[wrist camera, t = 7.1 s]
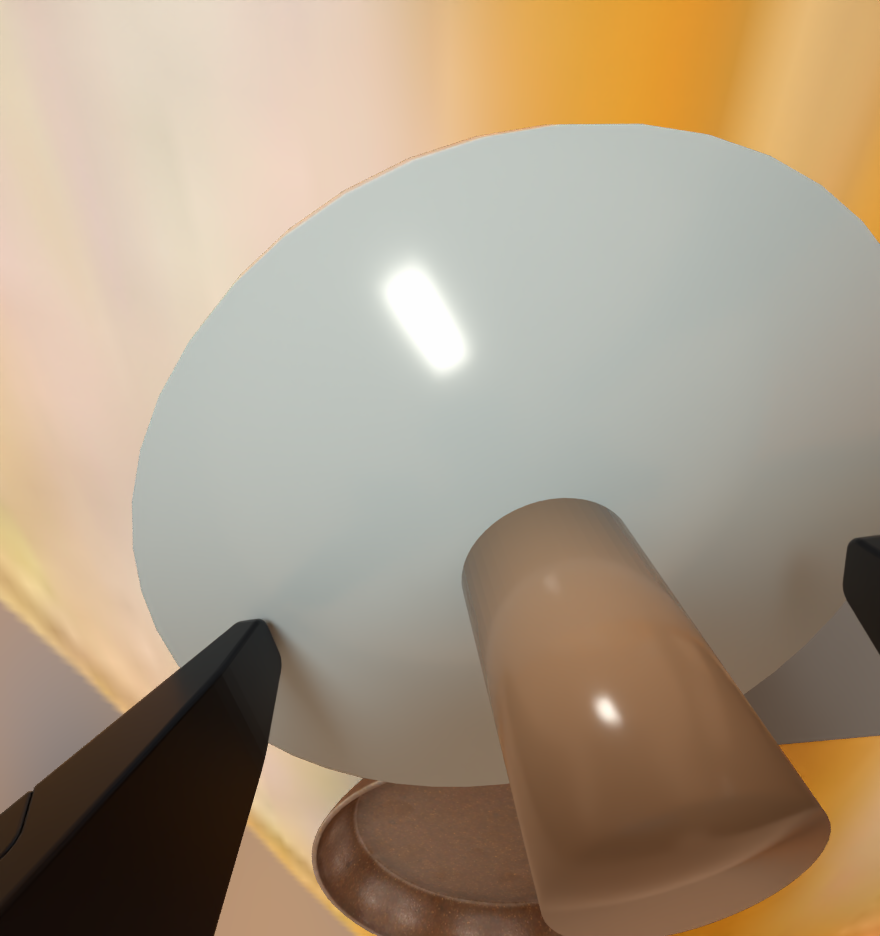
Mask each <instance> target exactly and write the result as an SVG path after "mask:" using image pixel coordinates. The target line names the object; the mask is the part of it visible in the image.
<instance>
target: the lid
mask: <svg viewBox="0 0 880 936" xmlns="http://www.w3.org/2000/svg"><path fill="white" fill-rule="evenodd" d="M132 522H133V551H134V556H135V561H136V566H137V571H138V576H139V581H140V586H141V591H142V594H143V596H144V599H145V601H146V604H147V606H148V609H149V612H150V614H151V617H152V619H153V622H154V624H155V627H156V629H157V631H158V633H159V635H160V636H161V638H162V640H163V641H164V643H165V645H166V646H167V648H168V650H169V651H170V653H171V655H172V656H173V658H174V660H175V661H176V663H177V664H178V666H179V667H180V668H181V667H182V666H184V665H185V664H186V663H187V662H188V661H190V660H191V659H192V658H193V657H195V656H196V655H197V654H198V653H200V652H201V651H202V650H203V649H204V648H206V647H207V646H208V645H209V644H211V643H212V642H213V641H214V640H216V639H217V638H218V637H219V636H220V635H222V634H223V633H224V632H225V631H227V630H228V629H229V628H230V627H231V626H233V625H234V624H235V623H237V622H239V621H243V620H250V619H258V618H259V619H262V620H264V621H265V622H266V623H267V625H268V627H269V630H270V632H271V634H272V636H273V639H274V641H275V643H276V646H277V648H278V650H279V652H280V655H281V661H282V669H281V675H280V680H279V686H278V691H277V697H276V702H275V708H274V713H273V719H272V724H271V730H270V736H269V741H268V743H269V744H271V745H273V746H275V747H277V748H279V749H281V750H283V751H285V752H287V753H289V754H291V755H293V756H296V757H298V758H301V759H304V760H306V761H309V762H311V763H314V764H317V765H319V766H322V767H325V768H328V769H331V770H335V771H339V772H342V773H346V774H350V775H354V776H357V777H361V778H367V779H373V780H378V781H384V782H390V783H396V784H407V785H419V786H431V787H471V786H485V785H499V784H508V783H510V787H511V791H512V795H513V799H514V804H515V808H516V812H517V816H518V820H519V824H520V828H521V832H522V836H523V840H524V845H525V849H526V853H527V857H528V861H529V865H530V869H531V873H532V877H533V881H534V885H535V890H536V894H537V898H538V902H539V906H540V910H541V914H542V917H543V919H544V921H545V923H546V924H547V925H548V926H549V927H550V928H551V929H553V930H554V931H555V932H557V933H559V934H561V935H563V936H668V935H673V934H677V933H681V932H685V931H688V930H692V929H695V928H698V927H701V926H704V925H707V924H710V923H713V922H716V921H719V920H721V919H724V918H726V917H729V916H731V915H734V914H736V913H738V912H740V911H743V910H745V909H747V908H749V907H751V906H753V905H755V904H757V903H759V902H761V901H763V900H764V899H766V898H768V897H770V896H771V895H773V894H775V893H776V892H778V891H779V890H781V889H783V888H784V887H786V886H787V885H788V884H790V883H791V882H792V881H794V880H795V879H796V878H798V877H799V876H800V875H801V874H802V873H804V872H805V871H806V870H807V869H808V868H809V867H810V866H811V865H812V864H813V863H814V862H815V861H816V860H817V858H818V857H819V856H820V854H821V853H822V852H823V850H824V848H825V846H826V844H827V842H828V840H829V836H830V832H831V827H830V821H829V819H828V816H827V814H826V813H825V812H824V810H823V809H822V807H821V806H820V804H819V803H818V801H817V800H816V799H815V797H814V796H813V794H812V793H811V791H810V790H809V788H808V787H807V786H806V784H805V783H804V781H803V780H802V778H801V777H800V776H799V774H798V773H797V771H796V770H795V768H794V767H793V765H792V764H791V763H790V761H789V760H788V758H787V757H786V755H785V754H784V752H783V751H782V750H781V748H780V747H779V745H778V744H777V742H776V741H775V740H774V738H773V737H772V735H771V734H770V732H769V731H768V729H767V728H766V727H765V725H764V724H763V722H762V721H761V719H760V718H759V716H758V715H757V714H756V712H755V711H754V709H753V708H752V706H751V705H750V703H749V702H748V701H747V699H746V698H745V696H744V694H745V693H747V692H748V691H749V690H751V689H752V688H753V687H755V686H756V685H757V684H759V683H760V682H761V681H763V680H764V679H766V678H767V677H768V676H770V675H771V674H772V673H774V672H775V671H776V670H777V669H778V668H780V667H781V666H782V665H783V664H784V663H785V662H786V661H788V660H789V659H790V658H791V657H792V656H793V655H795V654H796V653H797V652H798V651H799V650H800V649H801V648H803V647H804V646H805V645H806V644H807V643H808V642H809V641H810V640H811V639H812V638H813V637H814V636H815V635H816V634H817V632H818V631H819V630H820V629H821V628H822V627H823V626H824V625H825V624H826V623H827V622H828V621H829V620H830V619H831V618H832V617H833V616H834V615H835V613H836V612H837V611H838V610H839V608H840V607H841V606H842V605H843V604H844V602H845V601H846V598H845V595H844V592H843V586H842V582H843V574H844V566H845V558H846V551H847V546H848V544H849V542H850V541H851V540H852V539H854V538H858V537H865V536H873V535H880V244H879V243H878V241H877V240H876V239H875V237H874V236H873V235H872V233H871V232H870V231H869V229H868V228H867V227H866V225H865V224H864V223H863V221H861V220H860V219H859V218H858V217H857V216H856V215H855V214H853V213H852V212H851V211H850V210H849V209H848V208H847V207H846V206H844V205H843V204H842V203H841V202H840V201H839V200H838V199H836V198H835V197H834V196H833V195H832V194H831V193H830V192H828V191H827V190H826V189H825V188H824V187H823V186H822V185H820V184H818V183H816V182H815V181H813V180H811V179H809V178H808V177H806V176H804V175H803V174H801V173H799V172H797V171H796V170H794V169H792V168H790V167H789V166H787V165H785V164H783V163H782V162H780V161H778V160H777V159H775V158H773V157H771V156H769V155H766V154H763V153H761V152H758V151H755V150H752V149H749V148H746V147H743V146H740V145H737V144H735V143H732V142H729V141H726V140H723V139H720V138H717V137H714V136H711V135H708V134H702V133H695V132H689V131H683V130H676V129H670V128H663V127H657V126H651V125H644V124H569V125H540V126H534V127H528V128H522V129H516V130H510V131H504V132H498V133H492V134H486V135H480V136H475V137H472V138H469V139H466V140H462V141H459V142H456V143H453V144H450V145H447V146H444V147H441V148H438V149H435V150H432V151H429V152H426V153H423V154H420V155H417V156H413V157H410V158H408V159H406V160H404V161H402V162H400V163H398V164H396V165H394V166H392V167H390V168H388V169H386V170H384V171H382V172H380V173H378V174H376V175H374V176H372V177H370V178H368V179H366V180H364V181H362V182H360V183H358V184H356V185H354V186H352V187H350V188H348V189H346V190H344V191H343V192H341V193H340V194H338V195H337V196H335V197H334V198H333V199H331V200H330V201H328V202H327V203H325V204H324V205H322V206H321V207H320V208H318V209H317V210H315V211H314V212H312V213H311V214H310V215H308V216H307V217H305V218H304V219H302V220H301V221H300V222H298V223H297V224H295V225H294V226H292V227H291V228H290V229H288V230H287V231H286V232H285V233H284V234H283V235H282V236H281V237H280V238H279V239H278V240H277V241H276V242H275V243H273V244H272V245H271V246H270V247H269V248H268V249H267V250H266V251H265V252H264V253H263V254H262V255H261V256H260V257H259V258H258V259H257V260H255V261H254V262H253V263H252V264H251V265H250V266H249V267H248V268H247V269H246V270H245V271H244V272H243V273H242V274H241V275H240V276H239V277H238V279H237V280H236V281H235V283H234V284H233V285H232V286H231V288H230V289H229V290H228V292H227V293H226V294H225V295H224V297H223V298H222V299H221V301H220V302H219V303H218V304H217V306H216V307H215V308H214V310H213V311H212V312H211V313H210V315H209V316H208V317H207V319H206V320H205V321H204V322H203V324H202V325H201V326H200V328H199V329H198V331H197V332H196V333H195V335H194V336H193V337H192V339H191V340H190V341H189V343H188V344H187V346H186V348H185V350H184V352H183V354H182V355H181V357H180V359H179V361H178V363H177V365H176V366H175V368H174V370H173V372H172V374H171V375H170V377H169V379H168V381H167V383H166V385H165V386H164V388H163V390H162V392H161V394H160V396H159V398H158V401H157V403H156V406H155V409H154V412H153V415H152V418H151V421H150V424H149V427H148V429H147V432H146V435H145V438H144V441H143V444H142V447H141V450H140V455H139V461H138V468H137V474H136V480H135V486H134V492H133V499H132Z"/></svg>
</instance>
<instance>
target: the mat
mask: <svg viewBox="0 0 880 936" xmlns="http://www.w3.org/2000/svg"><path fill="white" fill-rule="evenodd" d="M744 696H745V698H746V699H747V701H748V702H749V703H750V705H751V706H752V708H753V709H754V711H755V712H756V714H757V715H758V716H759V718H760V719H761V721H762V722H763V724H764V725H765V727H766V728H767V729H768V731H769V732H770V734H771V735H772V737H773V738H774V740H775V741H776V742H777V744H778V745H781V744H791V743H802V742H813V741H824V740H835V739H846V738H857V737H868V736H879V735H880V655H879V653H878V652H877V650H876V648H875V647H874V645H873V643H872V642H871V640H870V638H869V637H868V635H867V633H866V632H865V630H864V629H863V627H862V625H861V624H860V622H859V620H858V619H857V617H856V615H855V614H854V612H853V610H852V609H851V607H850V605H849V604H848V602H847V600H846V601H845V602H844V604H843V605H842V606H841V607H840V608H839V610H838V611H837V612H836V613H835V615H834V616H833V617H832V618H831V619H830V620H829V621H828V622H827V623H826V624H825V625H824V626H823V627H822V628H821V629H820V630H819V631H818V632H817V634H816V635H815V636H814V637H813V638H812V639H811V640H810V641H809V642H808V643H807V644H806V645H805V646H804V647H803V648H801V649H800V650H799V651H798V652H797V653H796V654H795V655H793V656H792V657H791V658H790V659H789V660H788V661H786V662H785V663H784V664H783V665H782V666H781V667H780V668H778V669H777V670H776V671H775V672H774V673H772V674H771V675H770V676H768V677H767V678H766V679H764V680H763V681H761V682H760V683H759V684H757V685H756V686H755V687H753V688H752V689H751V690H749V691H748V692H747V693H745V694H744Z"/></svg>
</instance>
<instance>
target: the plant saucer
mask: <svg viewBox="0 0 880 936" xmlns="http://www.w3.org/2000/svg"><path fill="white" fill-rule="evenodd" d="M312 864H313V870H314V873H315V876H316V879H317V882H318V884H319V885H320V887H321V889H322V890H323V892H324V894H325V895H326V896H327V898H328V899H329V900H330V901H331V903H332V904H333V905H334V906H335V907H336V908H338V909H339V910H340V911H341V912H342V913H343V914H344V915H345V916H346V917H348V918H349V919H351V920H352V921H353V922H355V923H356V924H358V925H359V926H361V927H362V928H364V929H366V930H367V931H369V932H371V933H373V934H376V935H377V936H563V935H561V934H559V933H557V932H555V931H554V930H553V929H551V928H550V927H549V926H548V925H547V924H546V923H545V921H544V919H543V917H542V914H541V910H540V906H539V902H538V898H537V894H536V890H535V885H534V881H533V877H532V873H531V869H530V865H529V861H528V857H527V853H526V849H525V845H524V840H523V836H522V832H521V828H520V824H519V820H518V816H517V812H516V808H515V804H514V799H513V795H512V791H511V787H510V783H508V784H499V785H485V786H471V787H431V786H419V785H407V784H396V783H390V782H384V781H378V780H373V779H367V778H363V779H362V780H361V781H360V782H359V783H358V784H356V785H355V786H354V787H353V788H352V789H351V790H350V791H349V792H348V793H347V794H346V795H345V796H344V797H343V798H342V799H341V800H340V801H339V802H338V803H337V805H336V806H335V807H334V808H333V809H332V810H331V812H330V813H329V814H328V816H327V817H326V818H325V820H324V821H323V822H322V824H321V826H320V827H319V829H318V832H317V834H316V836H315V840H314V843H313V847H312Z"/></svg>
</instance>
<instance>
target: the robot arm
mask: <svg viewBox="0 0 880 936" xmlns="http://www.w3.org/2000/svg"><path fill="white" fill-rule="evenodd" d="M842 586H843V592H844V595H845V598H846V600H847V602H848V604H849V605H850V607H851V609H852V610H853V612H854V614H855V615H856V617H857V619H858V620H859V622H860V624H861V625H862V627H863V629H864V630H865V632H866V633H867V635H868V637H869V638H870V640H871V642H872V643H873V645H874V647H875V648H876V650H877V652H878V653H879V655H880V535H873V536H865V537H858V538H854V539H852V540H851V541H850V542H849V544H848V546H847V551H846V558H845V566H844V574H843V582H842ZM281 669H282V661H281V655H280V652H279V650H278V648H277V646H276V643H275V641H274V639H273V636H272V634H271V632H270V630H269V627H268V625H267V623H266V622H265V621H264V620H262V619H259V618H258V619H250V620H243V621H239V622H237V623H235V624H234V625H233V626H231V627H230V628H229V629H228V630H227V631H225V632H224V633H223V634H222V635H220V636H219V637H218V638H217V639H216V640H214V641H213V642H212V643H211V644H209V645H208V646H207V647H206V648H204V649H203V650H202V651H201V652H200V653H198V654H197V655H196V656H195V657H193V658H192V659H191V660H190V661H188V662H187V663H186V664H185V665H184V666H182V667H181V668H180V669H179V670H177V671H176V672H175V673H174V674H172V675H171V676H170V677H169V678H168V679H166V680H165V681H164V682H163V683H161V684H160V685H159V686H158V687H156V688H155V689H154V690H153V691H152V692H150V693H149V694H148V695H147V696H145V697H144V698H143V699H142V700H140V701H139V702H138V703H137V704H136V705H134V706H133V707H132V708H131V709H129V710H128V711H127V712H126V713H124V714H123V715H122V716H121V717H120V718H118V719H117V720H116V721H115V722H113V723H112V724H111V725H110V726H109V727H107V728H106V729H105V730H104V731H102V732H101V733H100V734H99V735H97V736H96V737H95V738H94V739H93V740H91V741H90V742H89V743H88V744H86V745H85V746H84V747H83V748H81V749H80V750H79V751H78V752H76V753H75V754H74V755H73V756H72V757H70V758H69V759H68V760H67V761H65V762H64V763H63V764H62V765H60V766H59V767H58V768H57V769H56V770H54V771H53V772H52V773H51V774H49V775H48V776H47V777H46V778H44V779H43V780H42V781H41V782H40V783H38V784H37V785H36V786H35V787H34V790H33V791H29V792H27V793H26V794H25V795H23V796H22V797H21V798H20V799H18V800H17V801H16V802H15V803H14V804H12V805H11V806H10V807H9V808H8V809H6V810H5V811H4V812H3V813H2V814H0V936H214V934H215V930H216V927H217V923H218V920H219V916H220V913H221V909H222V906H223V903H224V899H225V896H226V892H227V889H228V885H229V882H230V878H231V875H232V871H233V868H234V865H235V861H236V858H237V854H238V851H239V847H240V844H241V840H242V837H243V833H244V830H245V827H246V823H247V820H248V816H249V813H250V809H251V806H252V802H253V799H254V796H255V792H256V789H257V785H258V782H259V778H260V775H261V771H262V767H263V764H264V760H265V755H266V751H267V746H268V741H269V736H270V730H271V724H272V719H273V713H274V708H275V702H276V697H277V691H278V686H279V680H280V675H281Z"/></svg>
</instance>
